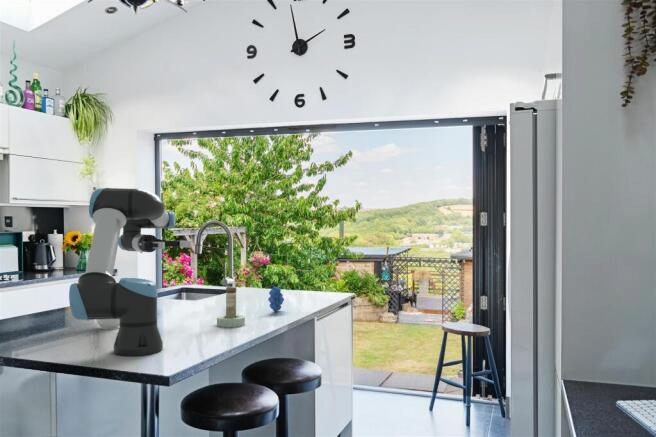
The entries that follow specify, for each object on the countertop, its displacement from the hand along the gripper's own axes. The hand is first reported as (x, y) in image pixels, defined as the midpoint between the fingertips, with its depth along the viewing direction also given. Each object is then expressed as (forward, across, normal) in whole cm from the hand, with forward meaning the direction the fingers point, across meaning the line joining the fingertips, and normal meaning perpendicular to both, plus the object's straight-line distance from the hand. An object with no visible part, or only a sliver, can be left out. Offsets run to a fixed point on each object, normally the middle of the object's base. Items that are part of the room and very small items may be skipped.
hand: (177, 245), depth 224 cm
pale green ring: (+19, -11, -32) cm, 39 cm away
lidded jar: (-14, +22, -32) cm, 41 cm away
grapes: (+16, -44, -32) cm, 57 cm away
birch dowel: (+19, -11, -32) cm, 39 cm away
